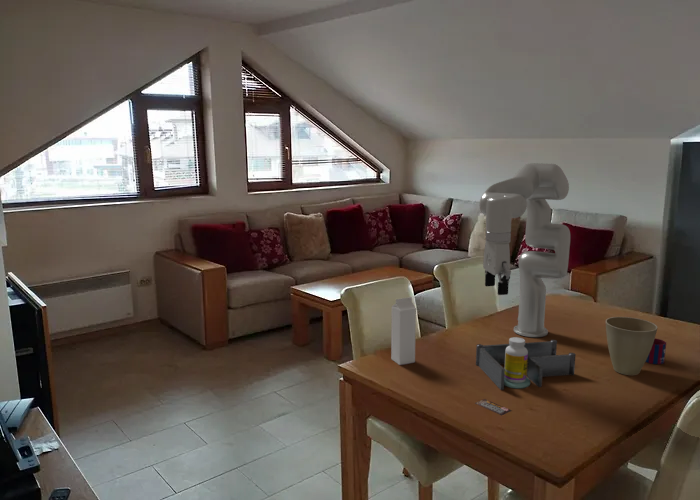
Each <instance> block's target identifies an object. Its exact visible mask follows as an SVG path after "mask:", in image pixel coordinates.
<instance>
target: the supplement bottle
mask: <svg viewBox="0 0 700 500" xmlns="http://www.w3.org/2000/svg"><path fill="white" fill-rule="evenodd" d="M525 343H526V340H525V339H524V338H523V337H517V336H515V337H510V338H509V339H508V344H510V346H508V347H507V348H506V350H505V364H504V367H503V368H504V369H505V376H504V378H505V379H506V380H507V381H509V382H513V383H522V382H524V381H526V377H527V366H528V362H527V358H528V351H527V349H526V348H525V347H524V345H525Z"/></svg>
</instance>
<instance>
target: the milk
mask: <svg viewBox="0 0 700 500" xmlns="http://www.w3.org/2000/svg"><path fill="white" fill-rule="evenodd" d="M412 300H413V299H412V297H411V296H409V297H402V298H395V303H394V304H392V305H391V344H390V345H391V348H390V349H391V351H390V354H391V355H390V357H391V361H394V363H396V364H397V365H399V366H403V365H408V364H413V363H416V322H417V321H416V318H417V317H416V313H417V312H416V311H417V310H416V306H415V305H414V303H413V301H412Z"/></svg>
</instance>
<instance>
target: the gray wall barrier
mask: <svg viewBox="0 0 700 500" xmlns="http://www.w3.org/2000/svg"><path fill="white" fill-rule="evenodd" d="M508 346H510V344H509V343H502V344H498V343H497V344H484V345H483V344H481V343H479V344H476V350H475V352H476V355H475V365H476V366H477V367H478V368H479V369H480V370H482V372H484V373H485V374H486V376H487V377H488V378H489V379H490V380H491V381H492V383H494V384H495V386H496V387H497V388H498V389H499V390H500V391H504V390H505V386H504V376H505V369H504V368H505V367H503V366H502V365H505V350H506V348H507V347H508ZM557 346H558V340H556V339H550V341H548V340H547V341H534V342H525V345H524V347H525V348H526V349H527V351H528V358H527V376H526V377H527V378H529V379H530V382H532V383H533V384H535V386H536V387H538V388H541V387H542V386H543V378H544V377H545V378H546V377H559V376H575V369H576V355H577V354H576V353H574V352H569V353H568V354H557Z"/></svg>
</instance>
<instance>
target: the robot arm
mask: <svg viewBox="0 0 700 500" xmlns="http://www.w3.org/2000/svg"><path fill="white" fill-rule="evenodd" d="M569 183H570V182H569V180H568V178H567V176H566V174H565V172H564V170H563V169H562V168H561V166H559V165H558V164H555V163H543V162H542V163H540V162H539V163H538V162H531V163H525V164H524V165H522V166H521V167H520V168H519V169H518V171H517V172H516V173H515V174H514V175H513V177H511V178H508V179H505V180H502V181H499V182H496V183H493V184H491V185H489V187H488V188H486V189H485V191H484V192H483V193H482V195H481V197H480V199H479V209H480V212H481V214H482V215H484V216H485V241H484V242H485V244H484V248H483V249H484V250H483V263H482V266H483V269H484V276H485V277H484V285H485V287H494V286H496V276H497V279H498V280H499V282H498V283H497V295H498V296H506V295H508V294H509V286H510V285H509V283H510V279H511V274H512V270H511V266H510V265H511V254H510V253H511V252H510V243H511V237H512V234H511V233H512V219H514V218H515V219H517V218H520V217H522V216H523V214H525V213H526V222H525V236H524V237H525V238H524V239H525V241H524V242H525V244H526V246H529V247H531V248H534V249H535V248H536V249H545V250H546V249H547V250H552V251H554V252H545V251H536V250H529V251H528V250H527V251H524V252H523V253H521V254H520V256H519V258H518V270H519V296H518V297H519V299H518V317H517V321H518V322H517V325H515V326H513V332H514V333H515V334H517V335H519V336H524V337H526V338H527V337H528V338H542V337H546V336H547V335H549V334H548V333H549V329H547V328H546V327H545V314H546V299H547V298H546V296H547V288H546V285H545V282H544V281H543V280H542V279H550V280H563V279H564V278H566V276H567V273H568V269H569V259H570V246H571V231H570V228H569V227H568V226H567V225H565V224H562V223H552V222H551V218H552V217H551V216H552V209H551V206H550V205H549V203H548V201H547V200H550V201H551V200H554V201H561V200H564V199H566V198H567V196H568V194H569V191H570V186H569V185H570V184H569Z"/></svg>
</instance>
